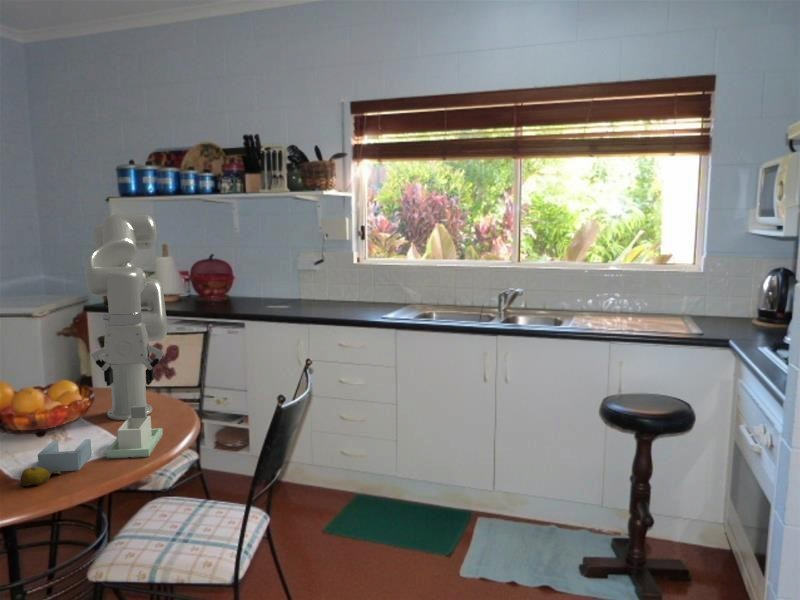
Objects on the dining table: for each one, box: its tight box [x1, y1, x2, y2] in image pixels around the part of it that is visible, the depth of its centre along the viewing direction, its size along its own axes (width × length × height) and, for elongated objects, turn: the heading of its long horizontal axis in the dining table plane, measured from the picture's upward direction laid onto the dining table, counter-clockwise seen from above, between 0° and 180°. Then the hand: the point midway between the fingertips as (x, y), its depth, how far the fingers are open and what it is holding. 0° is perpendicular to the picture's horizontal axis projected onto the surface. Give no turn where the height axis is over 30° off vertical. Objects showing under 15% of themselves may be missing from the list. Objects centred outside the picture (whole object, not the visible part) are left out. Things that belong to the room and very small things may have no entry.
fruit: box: [20, 466, 62, 488], centre depth 142 cm, size 8×8×4 cm
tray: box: [105, 427, 164, 460], centre depth 162 cm, size 15×10×2 cm
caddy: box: [117, 406, 152, 449], centre depth 161 cm, size 10×6×9 cm, turn 8°
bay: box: [37, 438, 93, 472], centre depth 150 cm, size 9×9×4 cm
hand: (129, 383), depth 157 cm, fingers open, 9 cm apart
